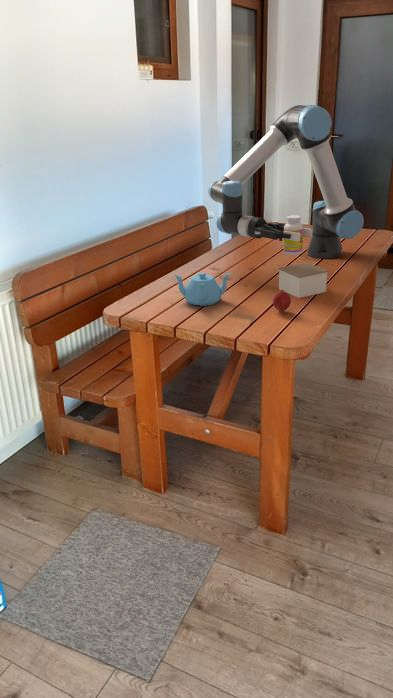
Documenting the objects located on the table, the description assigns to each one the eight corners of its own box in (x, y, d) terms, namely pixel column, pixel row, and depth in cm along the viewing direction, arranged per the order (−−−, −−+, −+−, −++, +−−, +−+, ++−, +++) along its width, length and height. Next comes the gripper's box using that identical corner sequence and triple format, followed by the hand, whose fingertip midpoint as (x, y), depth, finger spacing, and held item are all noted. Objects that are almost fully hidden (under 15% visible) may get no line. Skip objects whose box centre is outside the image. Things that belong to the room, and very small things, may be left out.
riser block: (305, 283, 216) (306, 262, 213) (326, 291, 206) (327, 270, 202) (278, 288, 211) (278, 267, 208) (298, 298, 201) (299, 276, 197)
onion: (271, 309, 192) (271, 286, 188) (288, 308, 192) (288, 285, 189) (274, 315, 186) (275, 292, 183) (292, 314, 187) (292, 291, 183)
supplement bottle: (301, 255, 200) (303, 218, 195) (282, 255, 202) (283, 218, 196) (302, 250, 206) (304, 214, 201) (284, 250, 207) (284, 214, 202)
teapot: (204, 291, 211) (203, 264, 207) (234, 300, 201) (233, 272, 197) (174, 302, 202) (172, 273, 198) (203, 311, 192) (202, 282, 188)
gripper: (268, 232, 220) (320, 240, 206) (236, 242, 207) (288, 252, 193) (268, 212, 217) (321, 219, 202) (235, 221, 204) (289, 229, 190)
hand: (305, 235), depth 198 cm, fingers closed on supplement bottle, 7 cm apart
